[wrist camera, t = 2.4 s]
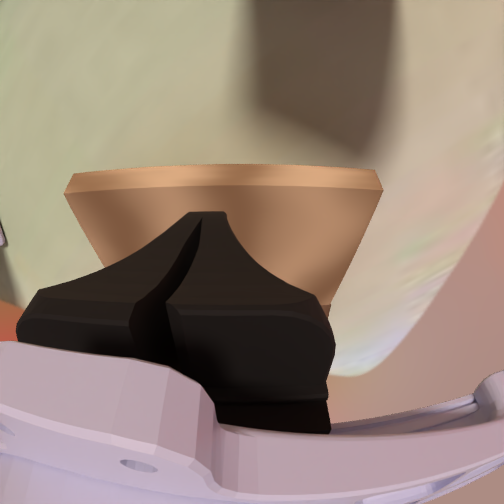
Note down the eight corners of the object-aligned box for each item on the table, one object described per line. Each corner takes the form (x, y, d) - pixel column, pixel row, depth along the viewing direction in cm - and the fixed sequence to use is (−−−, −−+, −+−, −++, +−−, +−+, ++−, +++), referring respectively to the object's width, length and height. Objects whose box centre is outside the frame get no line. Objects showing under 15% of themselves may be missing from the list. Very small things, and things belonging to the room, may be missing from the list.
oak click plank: (131, 287, 24) (128, 304, 23) (73, 173, 14) (63, 193, 13) (326, 287, 24) (329, 304, 24) (374, 169, 15) (383, 190, 14)
